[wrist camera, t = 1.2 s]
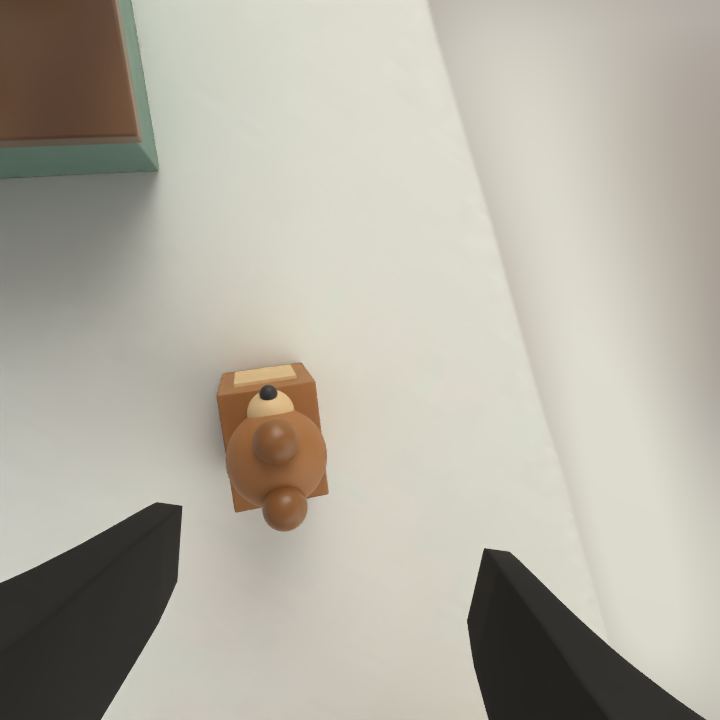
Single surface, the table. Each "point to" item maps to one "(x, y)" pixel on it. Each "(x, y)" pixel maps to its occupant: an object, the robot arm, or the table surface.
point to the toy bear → (273, 442)
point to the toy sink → (72, 90)
